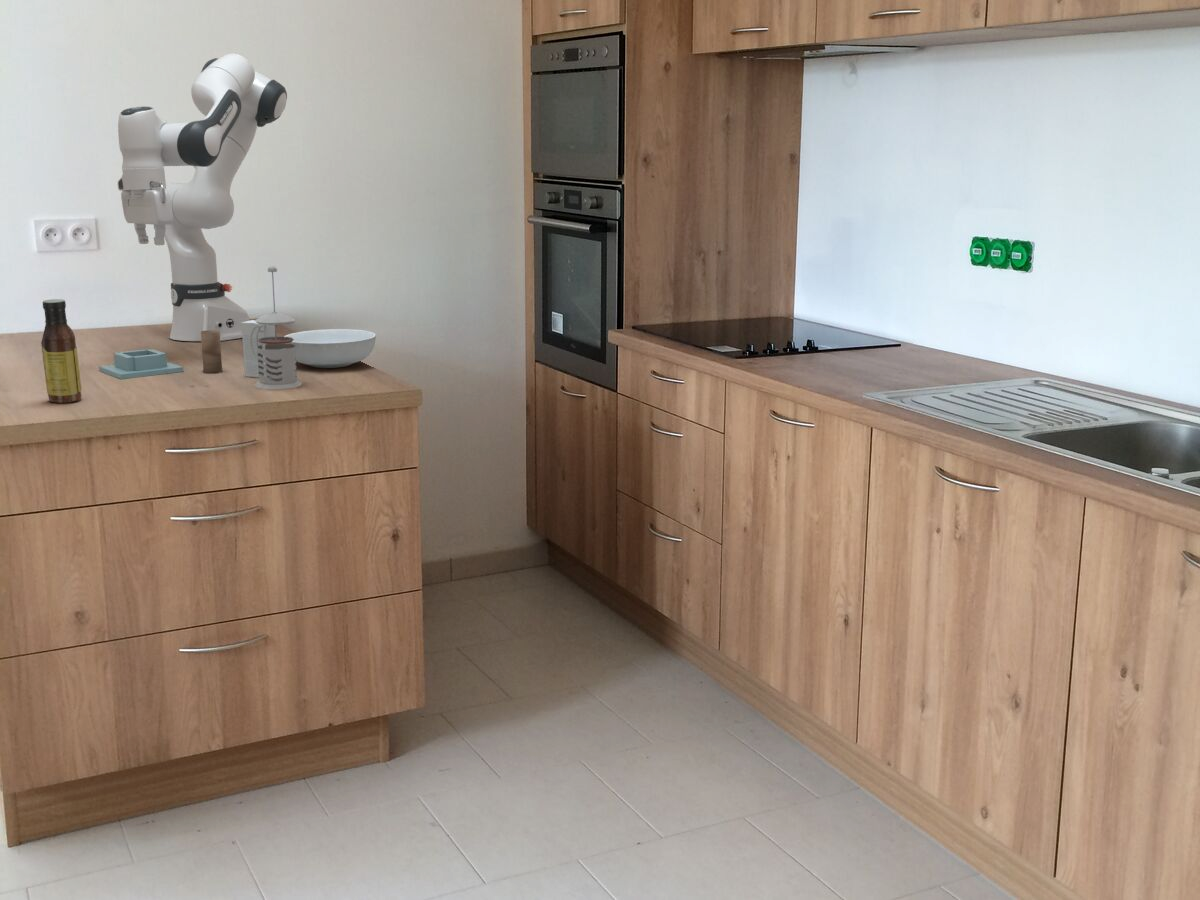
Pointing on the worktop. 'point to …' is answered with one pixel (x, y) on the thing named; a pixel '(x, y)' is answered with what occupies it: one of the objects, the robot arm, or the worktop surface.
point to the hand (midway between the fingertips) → (151, 244)
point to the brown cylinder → (211, 351)
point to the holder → (140, 364)
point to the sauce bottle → (60, 355)
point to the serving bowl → (332, 347)
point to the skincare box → (254, 345)
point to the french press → (276, 352)
